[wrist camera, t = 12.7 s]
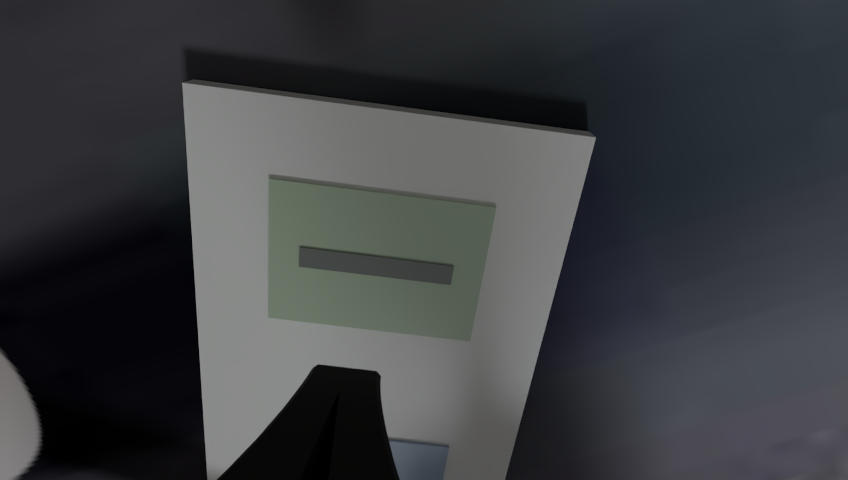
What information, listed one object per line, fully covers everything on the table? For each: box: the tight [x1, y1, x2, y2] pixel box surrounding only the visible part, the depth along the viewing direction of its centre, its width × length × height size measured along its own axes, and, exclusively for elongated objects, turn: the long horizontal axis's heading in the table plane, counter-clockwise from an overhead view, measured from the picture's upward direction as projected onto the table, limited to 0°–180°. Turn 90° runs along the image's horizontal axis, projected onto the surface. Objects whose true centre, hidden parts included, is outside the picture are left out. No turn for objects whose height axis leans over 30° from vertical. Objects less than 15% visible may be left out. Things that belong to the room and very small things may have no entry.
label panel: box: [182, 79, 596, 480], centre depth 20 cm, size 12×24×1 cm, turn 173°
